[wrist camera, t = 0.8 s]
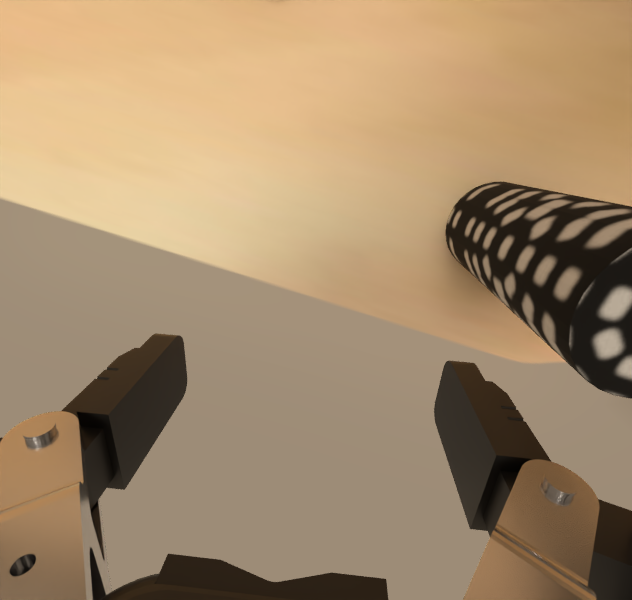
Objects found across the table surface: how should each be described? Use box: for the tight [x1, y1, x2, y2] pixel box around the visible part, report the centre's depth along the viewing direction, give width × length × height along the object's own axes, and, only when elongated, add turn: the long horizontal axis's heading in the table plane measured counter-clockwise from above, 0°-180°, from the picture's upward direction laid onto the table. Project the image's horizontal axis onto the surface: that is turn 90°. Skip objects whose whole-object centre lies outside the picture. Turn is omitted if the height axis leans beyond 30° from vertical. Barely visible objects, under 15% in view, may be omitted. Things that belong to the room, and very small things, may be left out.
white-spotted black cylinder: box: [446, 182, 632, 398], centre depth 25 cm, size 8×8×20 cm
